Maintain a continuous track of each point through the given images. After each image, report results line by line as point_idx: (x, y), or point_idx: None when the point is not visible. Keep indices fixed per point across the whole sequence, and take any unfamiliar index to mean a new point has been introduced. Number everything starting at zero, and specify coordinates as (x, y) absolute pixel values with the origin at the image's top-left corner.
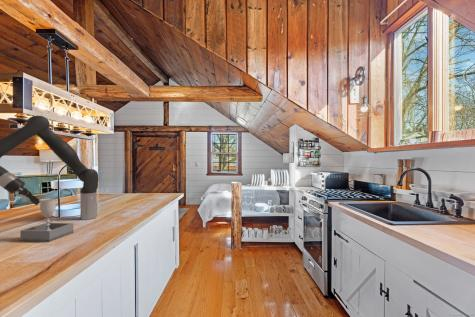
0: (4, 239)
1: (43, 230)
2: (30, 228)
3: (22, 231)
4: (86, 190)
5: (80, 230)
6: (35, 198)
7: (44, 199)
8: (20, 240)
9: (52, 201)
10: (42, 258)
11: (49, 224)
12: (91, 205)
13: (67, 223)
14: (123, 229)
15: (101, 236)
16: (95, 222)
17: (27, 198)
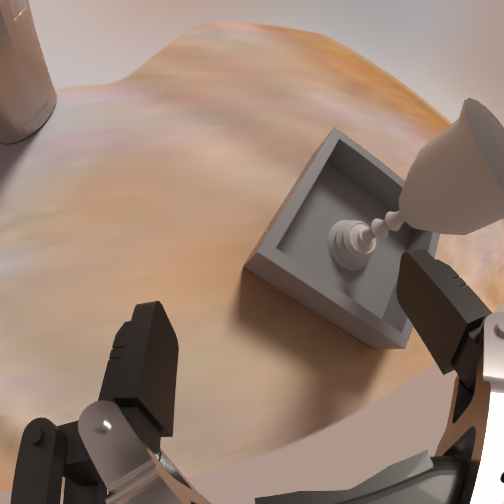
0: (311, 434)
1: (430, 240)
2: (375, 316)
3: (405, 338)
4: None
5: (285, 127)
6: (459, 281)
7: (491, 178)
8: (373, 347)
9: (494, 139)
10: (499, 230)
11: (381, 220)
12: (38, 40)
13: (329, 148)
14: (325, 42)
15: (388, 98)
16: (143, 77)
17: (200, 494)
